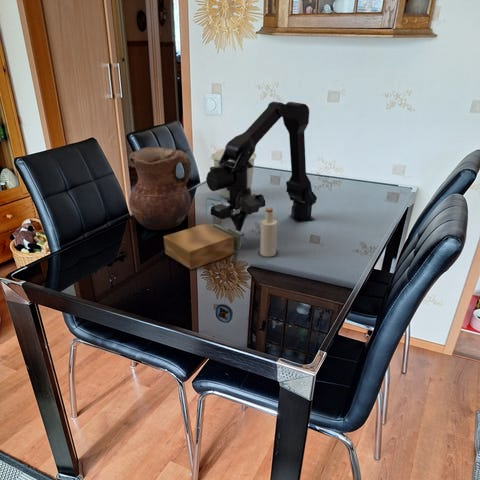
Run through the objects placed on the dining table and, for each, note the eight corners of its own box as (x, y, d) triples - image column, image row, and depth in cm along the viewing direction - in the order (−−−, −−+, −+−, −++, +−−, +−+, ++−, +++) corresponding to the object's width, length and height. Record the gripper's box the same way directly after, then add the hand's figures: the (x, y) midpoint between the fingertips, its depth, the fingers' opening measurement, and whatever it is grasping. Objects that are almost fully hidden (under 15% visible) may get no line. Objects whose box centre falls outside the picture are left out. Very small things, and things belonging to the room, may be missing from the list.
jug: (142, 239, 147) (130, 163, 132) (125, 219, 162) (113, 149, 148) (202, 227, 155) (197, 154, 141) (181, 209, 170) (174, 142, 156)
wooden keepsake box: (207, 239, 146) (206, 223, 142) (233, 253, 137) (233, 236, 133) (165, 253, 137) (163, 236, 134) (190, 269, 128) (189, 251, 125)
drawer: (225, 232, 149) (225, 220, 146) (250, 244, 140) (250, 232, 138) (177, 248, 139) (176, 235, 136) (201, 262, 130) (200, 249, 128)
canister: (263, 193, 185) (264, 141, 174) (241, 205, 173) (240, 150, 161) (228, 186, 194) (227, 136, 182) (204, 197, 181) (201, 144, 169)
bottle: (267, 248, 140) (269, 204, 131) (279, 253, 137) (281, 208, 128) (256, 253, 137) (257, 208, 129) (268, 258, 134) (269, 213, 126)
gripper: (231, 197, 125) (232, 246, 134) (277, 184, 134) (276, 231, 143) (208, 188, 132) (210, 235, 141) (254, 176, 142) (253, 221, 150)
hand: (238, 231), depth 144 cm, fingers closed
